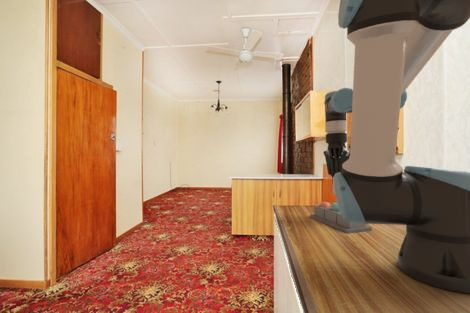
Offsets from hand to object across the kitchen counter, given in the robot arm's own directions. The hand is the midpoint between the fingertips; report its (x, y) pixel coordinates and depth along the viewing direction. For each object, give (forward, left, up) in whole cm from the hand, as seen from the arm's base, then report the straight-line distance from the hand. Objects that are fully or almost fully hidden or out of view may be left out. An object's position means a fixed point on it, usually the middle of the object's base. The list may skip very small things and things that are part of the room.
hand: (337, 193), depth 88 cm
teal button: (0, 0, -8) cm, 8 cm away
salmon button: (+7, 0, -9) cm, 11 cm away
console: (0, 0, -11) cm, 11 cm away
